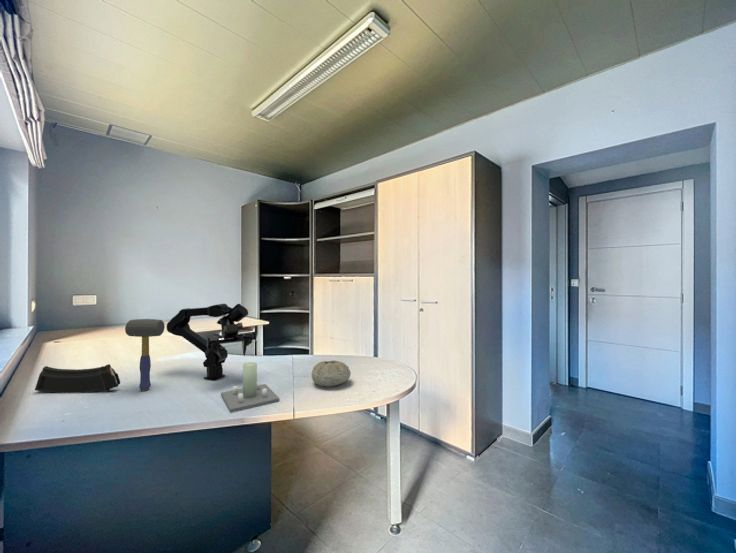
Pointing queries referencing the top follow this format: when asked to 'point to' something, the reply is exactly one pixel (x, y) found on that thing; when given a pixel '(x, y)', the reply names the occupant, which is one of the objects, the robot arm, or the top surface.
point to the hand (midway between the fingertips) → (233, 356)
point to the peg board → (238, 402)
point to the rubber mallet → (145, 344)
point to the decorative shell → (330, 373)
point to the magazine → (77, 380)
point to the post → (249, 380)
